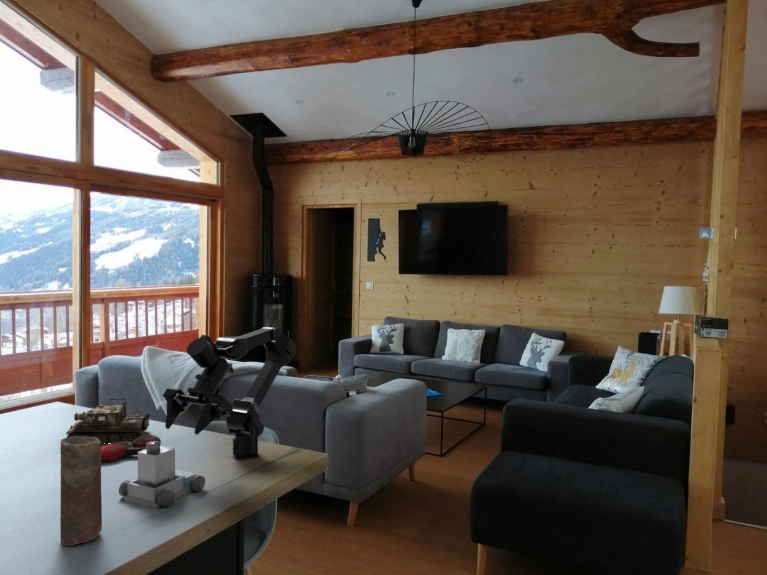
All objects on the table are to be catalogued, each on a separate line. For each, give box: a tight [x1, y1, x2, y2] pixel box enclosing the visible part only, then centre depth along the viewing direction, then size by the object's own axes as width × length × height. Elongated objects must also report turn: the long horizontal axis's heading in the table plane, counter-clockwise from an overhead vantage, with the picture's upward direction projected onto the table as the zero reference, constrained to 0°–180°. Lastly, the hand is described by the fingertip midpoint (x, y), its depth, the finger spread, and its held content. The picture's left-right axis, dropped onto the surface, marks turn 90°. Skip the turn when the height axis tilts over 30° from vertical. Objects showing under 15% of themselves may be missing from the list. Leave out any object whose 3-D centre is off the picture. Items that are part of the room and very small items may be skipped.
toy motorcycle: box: [101, 434, 162, 462], centre depth 165 cm, size 25×5×16 cm
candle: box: [59, 436, 103, 547], centre depth 116 cm, size 8×7×20 cm
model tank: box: [65, 396, 151, 445], centre depth 181 cm, size 13×22×15 cm, turn 104°
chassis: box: [118, 468, 206, 509], centre depth 139 cm, size 14×14×4 cm
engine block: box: [137, 441, 176, 488], centre depth 137 cm, size 6×6×12 cm
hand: (181, 431), depth 145 cm, fingers open, 9 cm apart
